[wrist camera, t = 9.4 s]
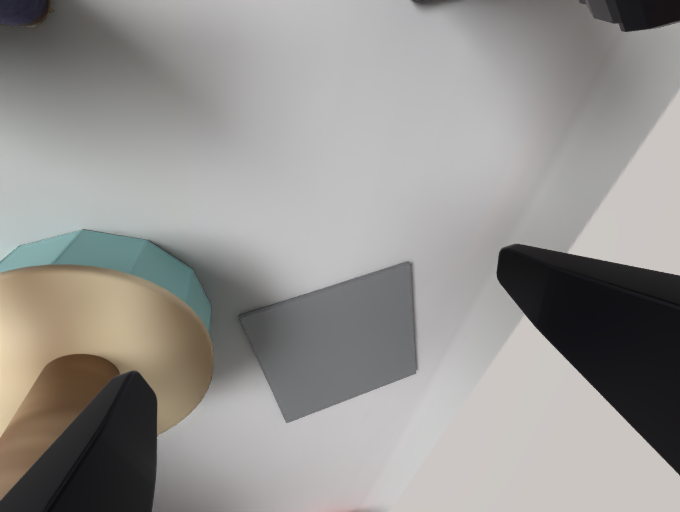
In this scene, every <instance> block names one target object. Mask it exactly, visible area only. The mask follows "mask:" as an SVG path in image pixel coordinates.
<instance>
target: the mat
mask: <svg viewBox="0 0 680 512" xmlns="http://www.w3.org/2000/svg"><path fill="white" fill-rule="evenodd" d="M239 319H240V321H241V324H242V326H243V328H244V330H245V332H246V335H247V337H248V339H249V341H250V344H251V346H252V348H253V350H254V352H255V355H256V357H257V359H258V361H259V363H260V366H261V368H262V370H263V372H264V375H265V377H266V379H267V381H268V383H269V386H270V388H271V390H272V392H273V395H274V397H275V399H276V401H277V403H278V406H279V408H280V410H281V412H282V415H283V417H284V419H285V421H286V423H289V422H291V421H294V420H296V419H299V418H302V417H304V416H307V415H309V414H312V413H315V412H317V411H320V410H322V409H325V408H328V407H330V406H333V405H335V404H338V403H341V402H343V401H346V400H348V399H351V398H354V397H356V396H359V395H361V394H364V393H367V392H369V391H372V390H374V389H377V388H380V387H382V386H385V385H387V384H390V383H393V382H395V381H398V380H400V379H403V378H406V377H408V376H411V375H413V374H416V360H415V341H414V323H413V304H412V285H411V267H410V263H409V262H405V263H402V264H399V265H396V266H392V267H389V268H386V269H383V270H380V271H377V272H374V273H371V274H367V275H364V276H361V277H358V278H355V279H352V280H349V281H346V282H342V283H339V284H336V285H333V286H330V287H327V288H324V289H321V290H317V291H314V292H311V293H308V294H305V295H302V296H299V297H296V298H292V299H289V300H286V301H283V302H280V303H277V304H274V305H271V306H267V307H264V308H261V309H258V310H255V311H252V312H249V313H246V314H242V315H239Z"/></svg>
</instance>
